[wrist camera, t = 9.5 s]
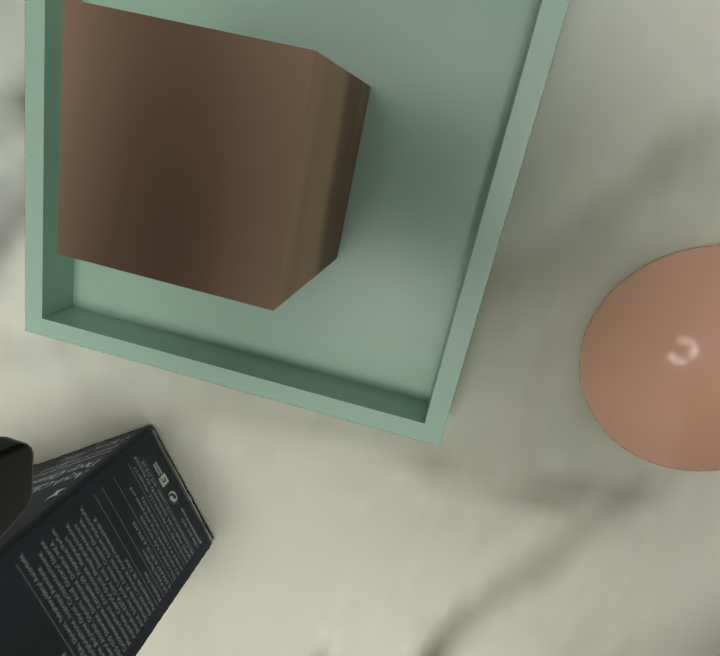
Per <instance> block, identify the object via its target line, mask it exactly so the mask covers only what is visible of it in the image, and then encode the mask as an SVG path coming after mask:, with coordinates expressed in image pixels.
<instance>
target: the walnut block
mask: <svg viewBox="0 0 720 656" xmlns="http://www.w3.org/2000/svg"><path fill="white" fill-rule="evenodd" d="M370 89H371V86H369V85H368V84H366V83H365V82H363V81H362V80H360V79H359V78H357V77H356V76H354V75H352V74H351V73H349V72H348V71H346V70H345V69H343V68H342V67H340V66H339V65H337V64H336V63H334V62H333V61H331V60H330V59H328V58H326V57H325V56H323V55H322V54H320V53H319V52H317V51H315V50H311V49H306V48H301V47H296V46H291V45H287V44H282V43H277V42H272V41H268V40H263V39H258V38H253V37H248V36H244V35H239V34H234V33H229V32H225V31H220V30H215V29H210V28H205V27H201V26H196V25H191V24H186V23H182V22H177V21H172V20H167V19H162V18H158V17H153V16H148V15H143V14H138V13H134V12H129V11H124V10H119V9H115V8H110V7H105V6H100V5H95V4H91V3H86V2H81V1H76V0H63V8H62V54H61V100H60V146H59V191H58V237H57V254H60V255H63V256H67V257H71V258H75V259H79V260H82V261H86V262H90V263H94V264H98V265H101V266H105V267H109V268H113V269H117V270H120V271H124V272H128V273H132V274H135V275H139V276H143V277H147V278H151V279H154V280H158V281H162V282H166V283H170V284H173V285H177V286H181V287H185V288H188V289H192V290H196V291H200V292H204V293H207V294H211V295H215V296H219V297H223V298H226V299H230V300H234V301H238V302H242V303H245V304H249V305H253V306H257V307H260V308H264V309H268V310H272V311H274V310H275V309H276V308H277V307H279V306H280V305H281V304H282V303H283V302H285V301H286V300H287V299H288V298H290V297H291V296H292V295H293V294H294V293H296V292H297V291H298V290H299V289H300V288H302V287H303V286H304V285H305V284H307V283H308V282H309V281H310V280H311V279H313V278H314V277H315V276H316V275H317V274H319V273H320V272H321V271H322V270H323V269H325V268H326V267H327V266H328V265H330V264H331V263H332V262H333V261H334V260H336V259H337V256H338V251H339V246H340V241H341V236H342V231H343V225H344V220H345V215H346V210H347V205H348V200H349V195H350V190H351V185H352V180H353V175H354V170H355V165H356V160H357V155H358V150H359V145H360V140H361V135H362V130H363V125H364V119H365V114H366V109H367V104H368V99H369V94H370Z"/></svg>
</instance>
